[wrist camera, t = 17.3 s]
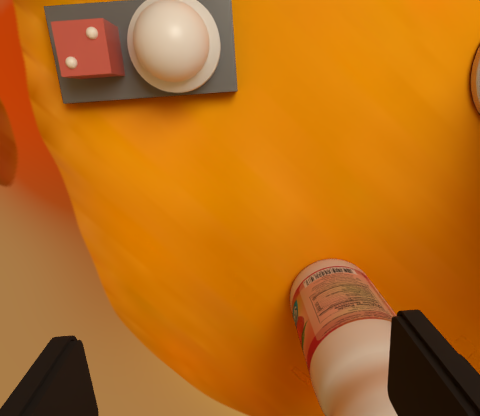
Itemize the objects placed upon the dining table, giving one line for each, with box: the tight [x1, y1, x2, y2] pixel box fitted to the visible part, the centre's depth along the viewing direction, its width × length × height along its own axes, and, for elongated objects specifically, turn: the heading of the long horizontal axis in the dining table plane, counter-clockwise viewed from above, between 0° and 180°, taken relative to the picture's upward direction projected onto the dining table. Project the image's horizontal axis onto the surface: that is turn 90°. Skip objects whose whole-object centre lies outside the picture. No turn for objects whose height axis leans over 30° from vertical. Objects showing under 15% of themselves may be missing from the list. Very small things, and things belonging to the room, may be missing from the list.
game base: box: [44, 0, 237, 104], centre depth 33 cm, size 16×8×2 cm, turn 94°
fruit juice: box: [290, 259, 398, 416], centre depth 29 cm, size 9×9×28 cm
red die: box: [51, 18, 125, 79], centre depth 30 cm, size 4×4×4 cm
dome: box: [127, 0, 221, 93], centre depth 29 cm, size 8×8×6 cm
